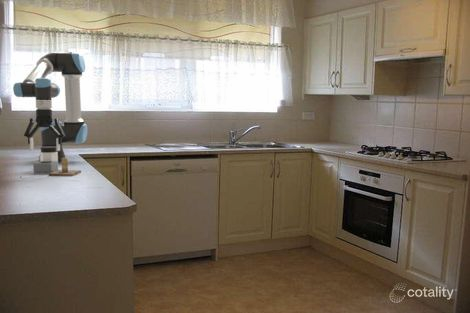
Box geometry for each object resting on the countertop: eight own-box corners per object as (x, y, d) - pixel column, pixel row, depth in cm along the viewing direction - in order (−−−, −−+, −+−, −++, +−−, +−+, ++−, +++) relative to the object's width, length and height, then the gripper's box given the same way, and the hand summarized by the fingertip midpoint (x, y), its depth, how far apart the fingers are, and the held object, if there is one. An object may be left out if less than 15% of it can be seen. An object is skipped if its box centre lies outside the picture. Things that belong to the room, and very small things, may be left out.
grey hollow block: (41, 170, 260) (40, 161, 260) (58, 170, 260) (57, 161, 260) (33, 173, 252) (33, 163, 251) (51, 173, 251) (51, 163, 251)
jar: (60, 168, 269) (59, 146, 268) (56, 170, 261) (55, 147, 260) (42, 168, 268) (42, 146, 267) (38, 170, 260) (37, 147, 259)
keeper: (57, 172, 256) (57, 156, 255) (80, 172, 256) (80, 156, 255) (48, 175, 244) (47, 159, 243) (72, 175, 244) (72, 159, 243)
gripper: (16, 108, 249) (17, 151, 251) (65, 109, 248) (66, 151, 250) (22, 108, 256) (24, 149, 258) (70, 109, 256) (71, 150, 258)
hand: (45, 150), depth 254 cm, fingers open, 13 cm apart
